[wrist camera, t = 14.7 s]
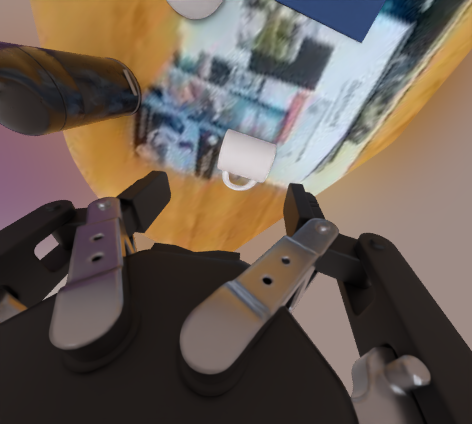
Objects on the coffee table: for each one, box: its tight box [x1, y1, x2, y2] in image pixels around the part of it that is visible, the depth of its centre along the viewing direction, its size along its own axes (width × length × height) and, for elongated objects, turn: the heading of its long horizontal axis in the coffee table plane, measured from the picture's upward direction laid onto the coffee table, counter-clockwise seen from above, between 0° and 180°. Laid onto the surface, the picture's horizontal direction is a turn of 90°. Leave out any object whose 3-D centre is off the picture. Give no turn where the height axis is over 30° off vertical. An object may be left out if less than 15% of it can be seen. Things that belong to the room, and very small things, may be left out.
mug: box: [217, 129, 276, 190], centre depth 38 cm, size 12×10×8 cm
